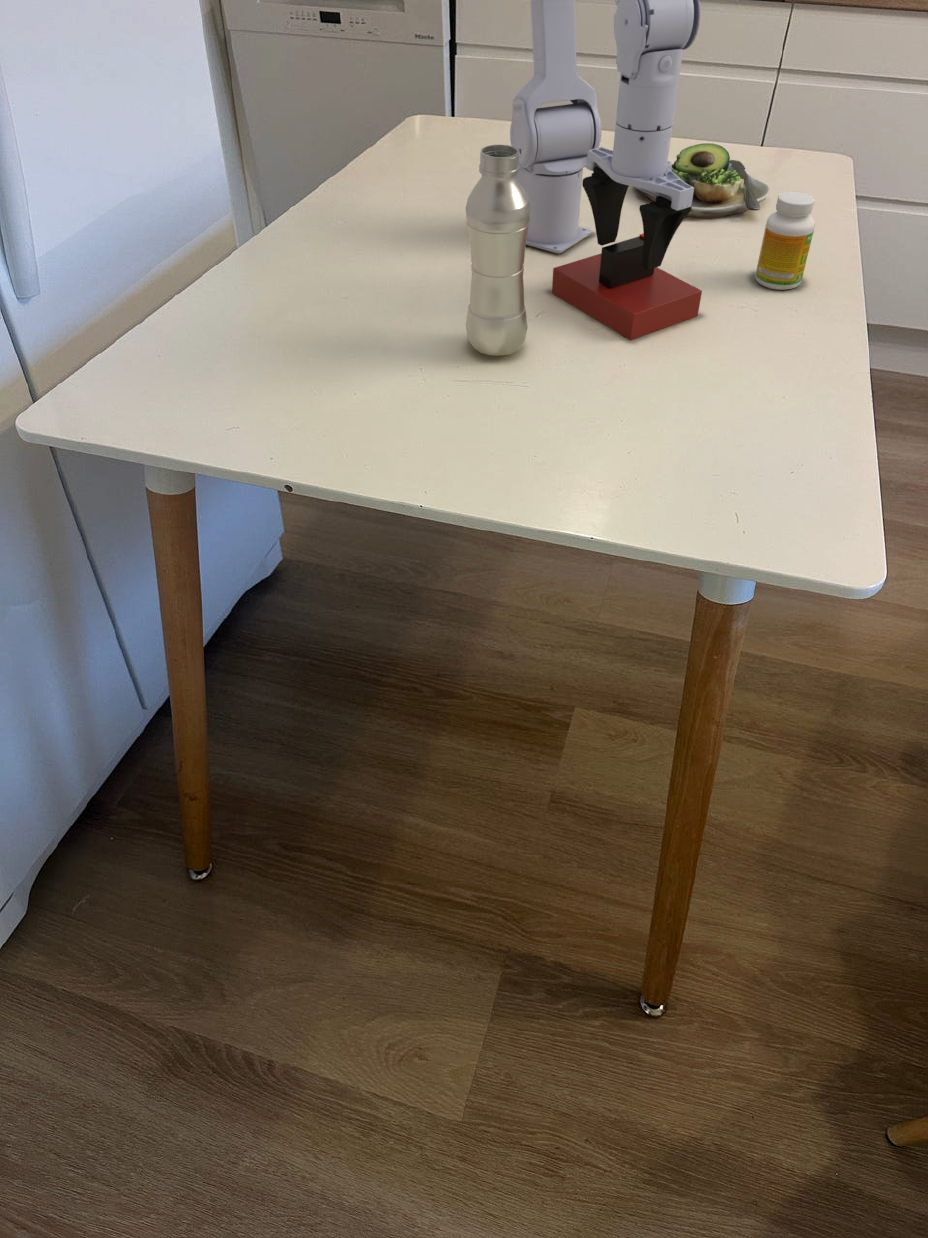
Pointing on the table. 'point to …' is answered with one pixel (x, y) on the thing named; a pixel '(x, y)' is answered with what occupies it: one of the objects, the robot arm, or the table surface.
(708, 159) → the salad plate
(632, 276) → the block
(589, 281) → the red rectangular block
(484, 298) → the metal water bottle
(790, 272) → the supplement bottle
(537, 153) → the robot arm
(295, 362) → the table surface
